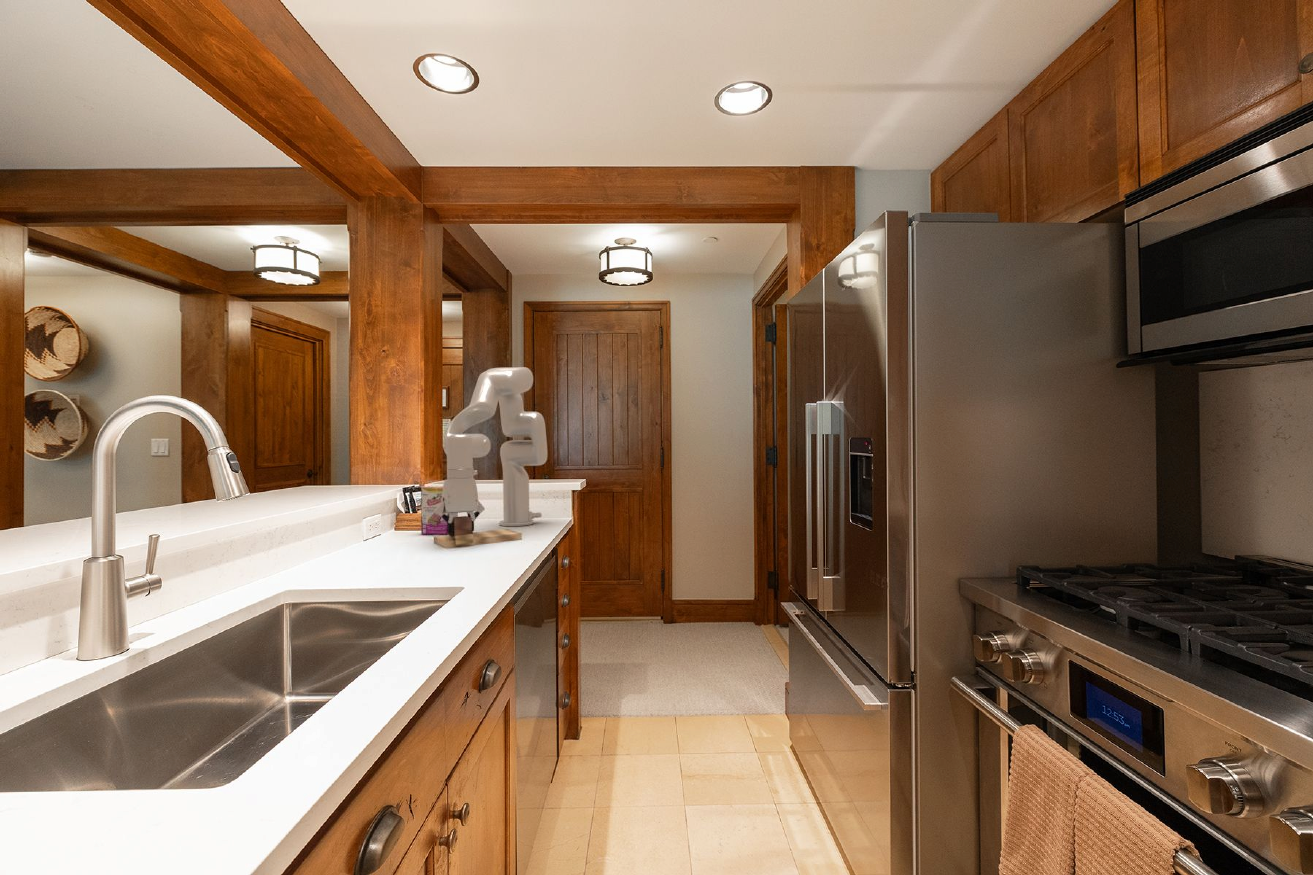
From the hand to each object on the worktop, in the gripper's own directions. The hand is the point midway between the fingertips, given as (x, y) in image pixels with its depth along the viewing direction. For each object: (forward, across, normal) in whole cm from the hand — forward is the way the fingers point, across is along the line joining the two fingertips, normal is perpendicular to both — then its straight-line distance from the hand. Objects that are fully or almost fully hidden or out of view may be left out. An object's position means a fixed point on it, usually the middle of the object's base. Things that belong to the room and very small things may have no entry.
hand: (460, 534), depth 185 cm
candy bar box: (+4, -2, -27) cm, 27 cm away
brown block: (+2, 0, +1) cm, 2 cm away
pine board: (+3, -7, -4) cm, 9 cm away
